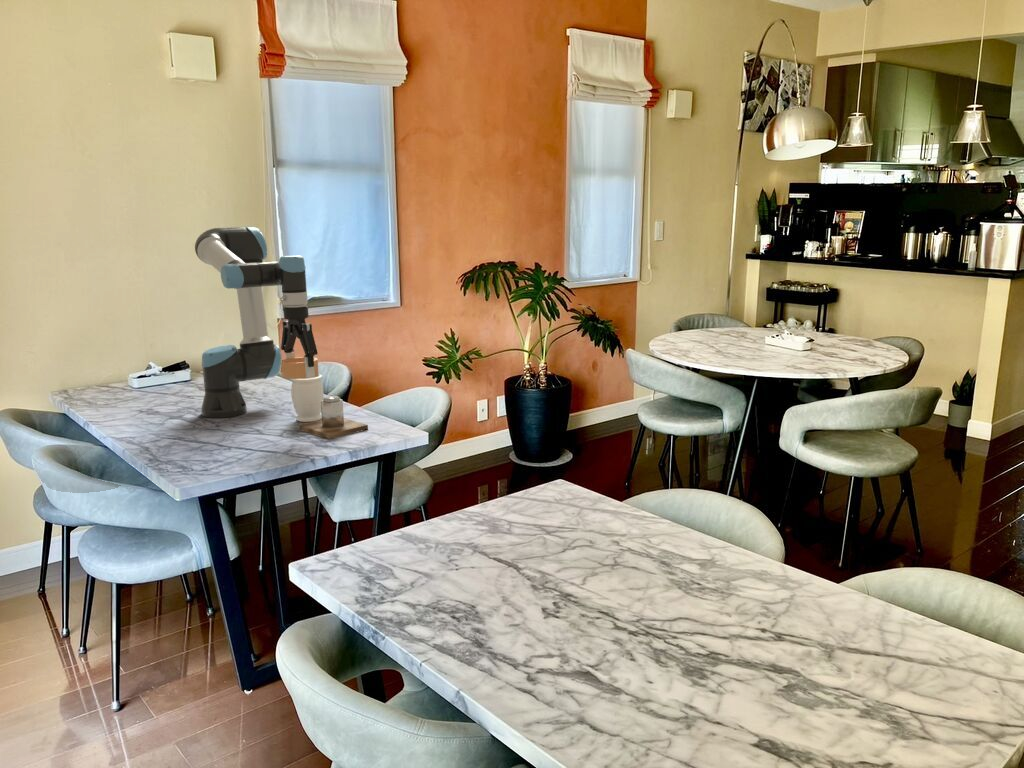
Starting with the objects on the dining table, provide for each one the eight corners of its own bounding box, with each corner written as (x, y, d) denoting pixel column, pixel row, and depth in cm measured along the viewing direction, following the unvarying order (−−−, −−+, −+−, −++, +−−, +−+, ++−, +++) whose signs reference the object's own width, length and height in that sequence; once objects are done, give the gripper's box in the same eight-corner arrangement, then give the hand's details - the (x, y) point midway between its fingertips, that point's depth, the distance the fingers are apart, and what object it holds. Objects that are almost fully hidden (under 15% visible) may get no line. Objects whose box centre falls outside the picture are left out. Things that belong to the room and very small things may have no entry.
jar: (329, 415, 285) (326, 373, 282) (319, 423, 275) (316, 379, 272) (299, 415, 286) (296, 373, 283) (288, 423, 276) (285, 379, 273)
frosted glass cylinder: (317, 425, 267) (316, 398, 265) (336, 421, 272) (334, 394, 270) (330, 429, 262) (328, 401, 260) (348, 424, 267) (346, 397, 265)
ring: (276, 376, 261) (275, 360, 260) (307, 371, 269) (306, 356, 268) (293, 380, 254) (292, 364, 253) (325, 375, 261) (324, 359, 260)
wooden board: (299, 429, 268) (298, 425, 267) (338, 420, 278) (337, 416, 278) (328, 439, 256) (328, 434, 256) (368, 429, 266) (367, 424, 266)
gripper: (266, 304, 263) (272, 372, 267) (304, 309, 246) (309, 381, 250) (287, 302, 268) (292, 368, 272) (325, 306, 251) (330, 377, 255)
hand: (300, 374), depth 261 cm, fingers closed on ring, 11 cm apart
